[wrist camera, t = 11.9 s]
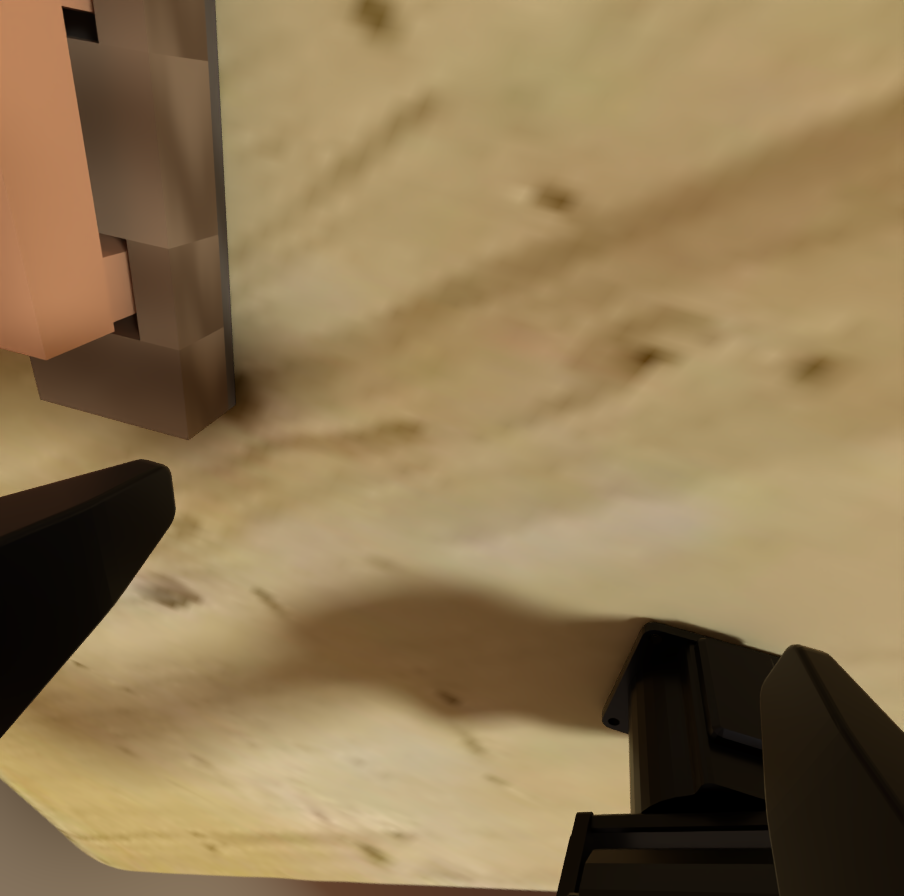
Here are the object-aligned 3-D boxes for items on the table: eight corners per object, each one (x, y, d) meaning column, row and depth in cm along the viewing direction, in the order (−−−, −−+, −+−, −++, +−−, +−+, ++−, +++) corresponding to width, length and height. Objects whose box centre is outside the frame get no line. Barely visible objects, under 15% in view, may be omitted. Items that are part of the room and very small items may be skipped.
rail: (235, 404, 23) (188, 440, 20) (101, 369, 24) (40, 399, 21) (200, -274, 13) (105, -364, 11) (-19, -296, 14) (-156, -386, 12)
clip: (186, 300, 20) (46, 360, 15) (111, 283, 21) (-49, 335, 16) (152, -67, 15) (-76, -159, 10) (54, -82, 16) (-214, -178, 11)
